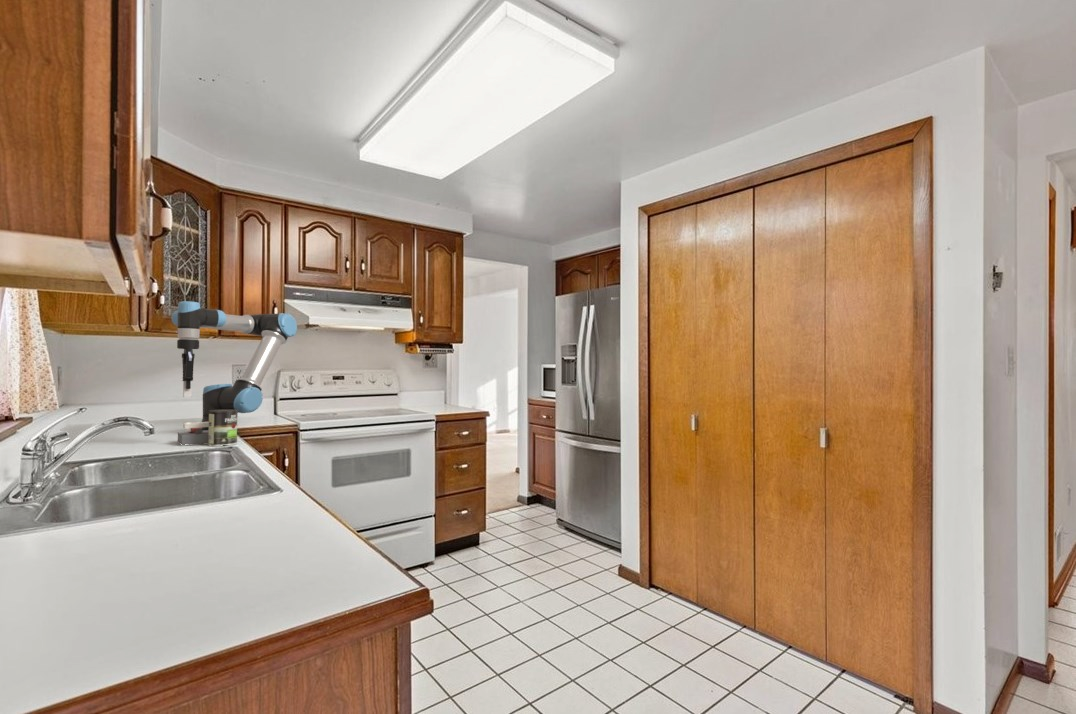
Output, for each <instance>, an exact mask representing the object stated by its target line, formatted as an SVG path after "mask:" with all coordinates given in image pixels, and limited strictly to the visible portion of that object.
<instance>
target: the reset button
mask: <svg viewBox="0 0 1076 714" xmlns="http://www.w3.org/2000/svg"><path fill="white" fill-rule="evenodd" d="M195 429H199V428H189V430H190V431H189V432H190V433H195ZM201 429H202V427H201Z"/></svg>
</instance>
